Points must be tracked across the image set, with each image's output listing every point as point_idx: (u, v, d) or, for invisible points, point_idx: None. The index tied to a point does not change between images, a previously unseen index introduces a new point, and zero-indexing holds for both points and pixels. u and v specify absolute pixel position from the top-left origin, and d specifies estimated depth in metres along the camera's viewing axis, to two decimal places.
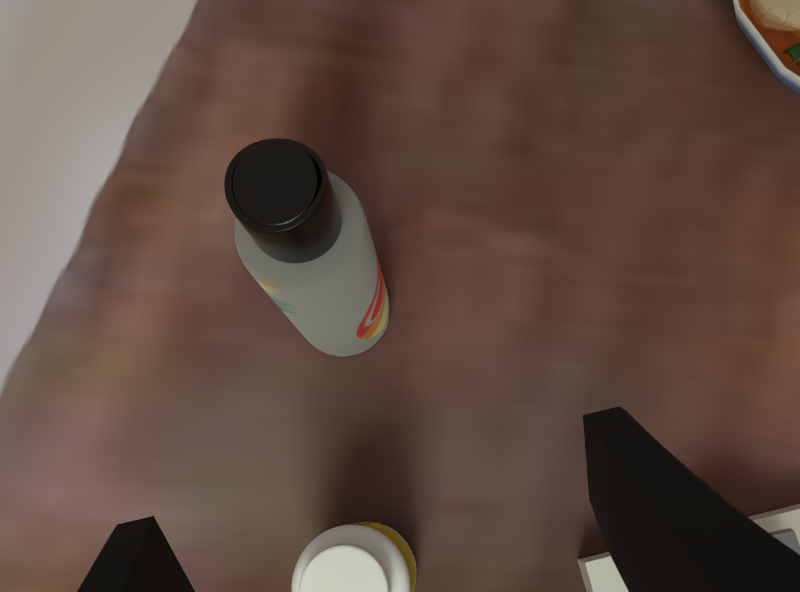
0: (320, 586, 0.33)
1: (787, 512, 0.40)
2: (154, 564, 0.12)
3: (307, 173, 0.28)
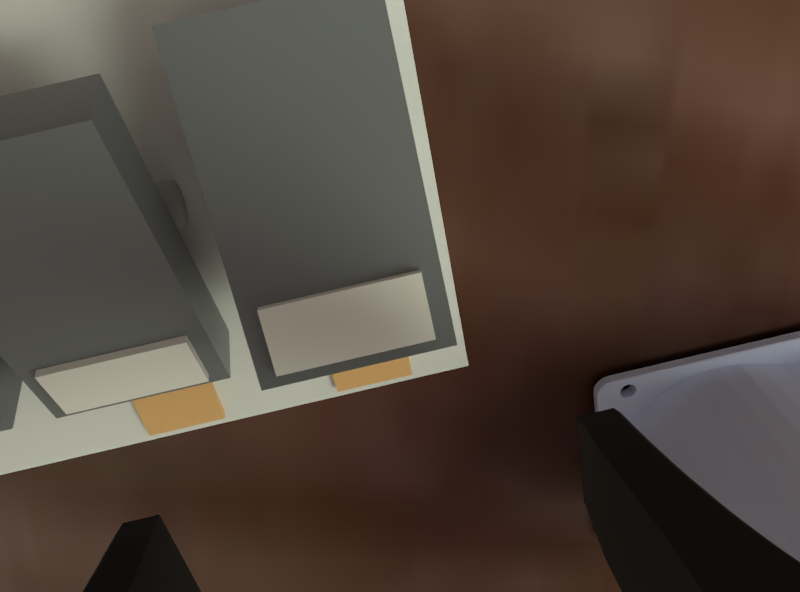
0: None
1: None
2: (160, 563, 0.12)
3: None
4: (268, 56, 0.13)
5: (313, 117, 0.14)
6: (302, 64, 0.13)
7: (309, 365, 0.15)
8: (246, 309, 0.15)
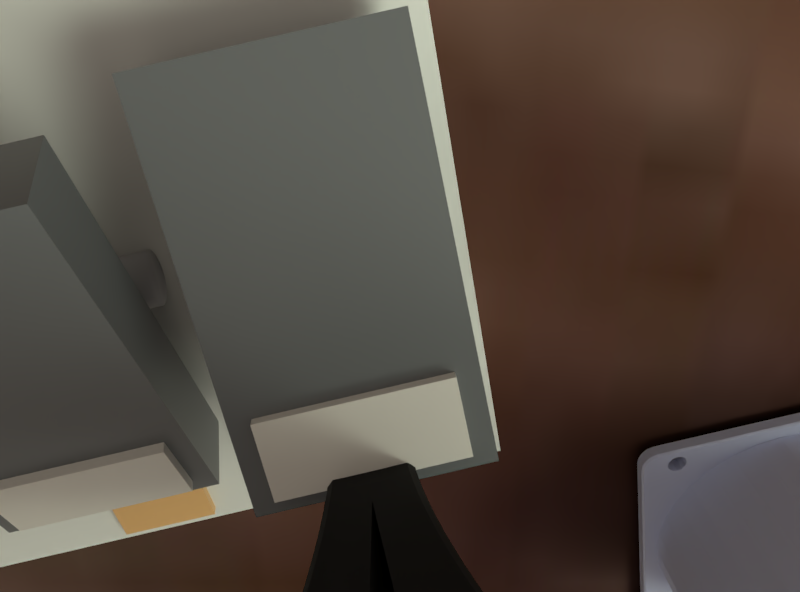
0: None
1: None
2: None
3: None
4: (264, 112, 0.10)
5: (321, 187, 0.11)
6: (307, 121, 0.10)
7: (315, 489, 0.12)
8: (237, 421, 0.12)
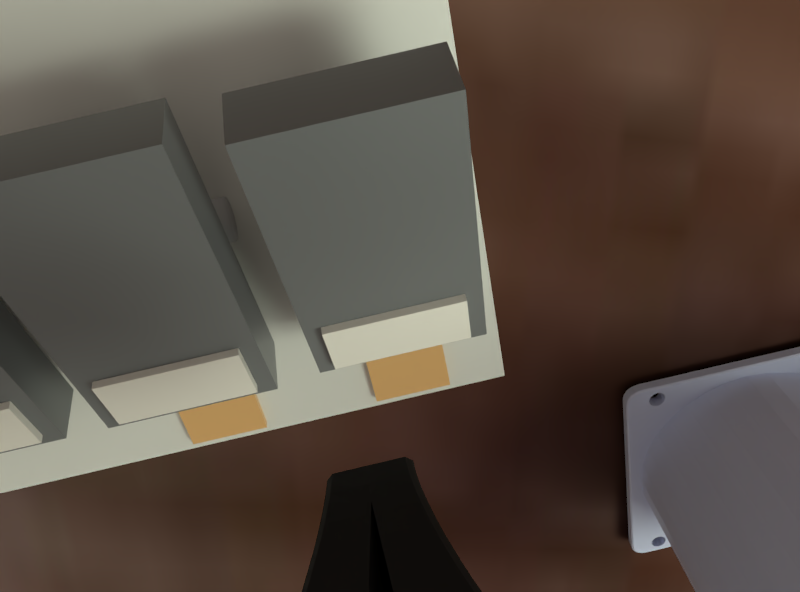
0: None
1: None
2: None
3: None
4: (344, 162, 0.13)
5: (383, 203, 0.14)
6: (378, 166, 0.13)
7: (364, 361, 0.17)
8: (310, 329, 0.16)
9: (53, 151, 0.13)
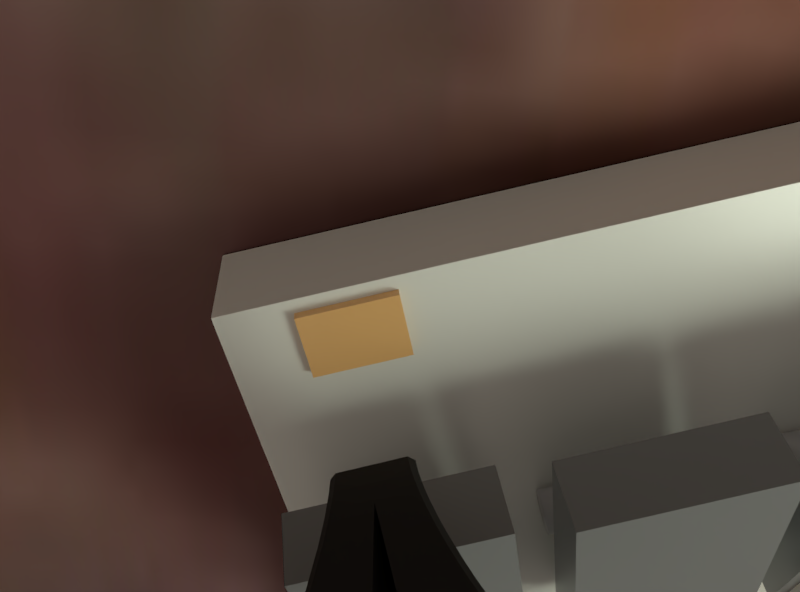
0: None
1: (246, 399, 0.15)
2: None
3: None
4: None
5: None
6: None
7: None
8: (797, 579, 0.17)
9: (686, 478, 0.13)
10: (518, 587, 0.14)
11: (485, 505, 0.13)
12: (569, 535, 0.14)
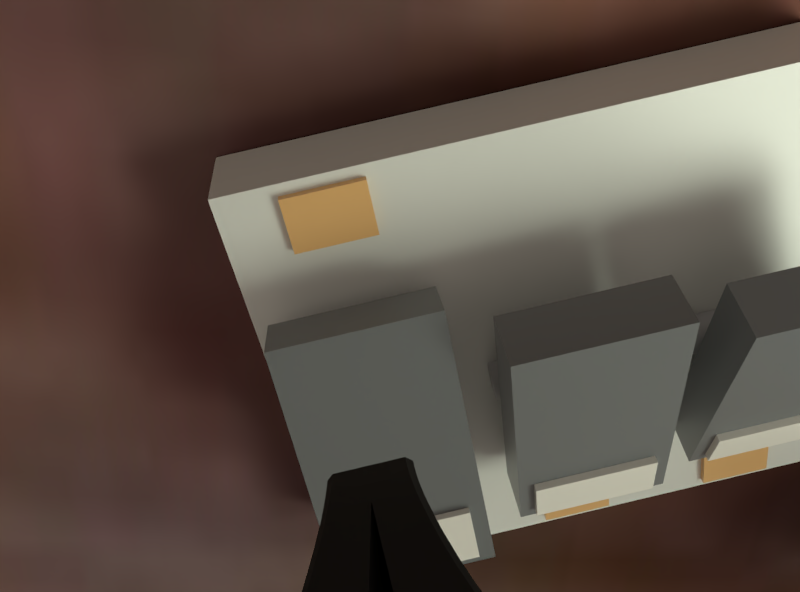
0: None
1: (237, 275, 0.18)
2: None
3: None
4: None
5: None
6: None
7: None
8: (708, 436, 0.20)
9: (602, 324, 0.16)
10: (458, 390, 0.17)
11: (424, 302, 0.17)
12: (507, 376, 0.16)
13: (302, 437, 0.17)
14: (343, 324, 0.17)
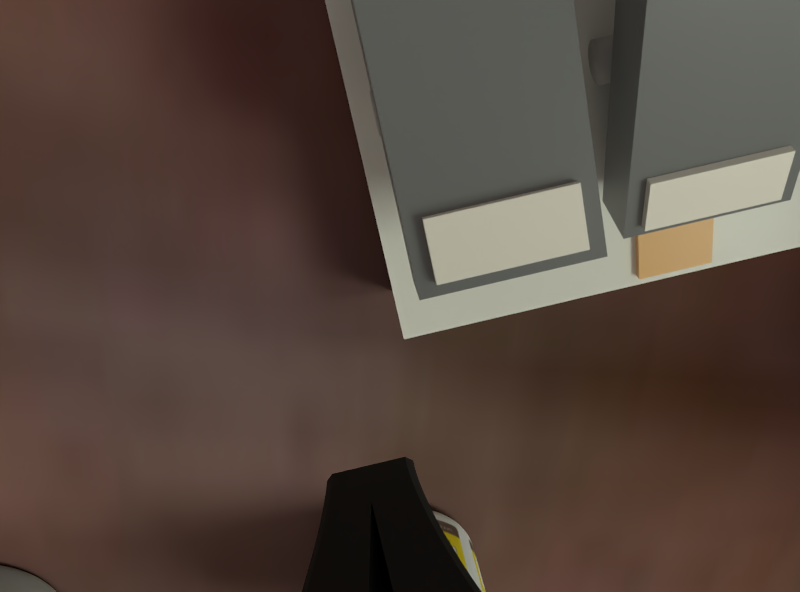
0: None
1: None
2: None
3: None
4: None
5: None
6: None
7: None
8: None
9: None
10: (570, 5, 0.14)
11: None
12: None
13: (381, 64, 0.14)
14: None
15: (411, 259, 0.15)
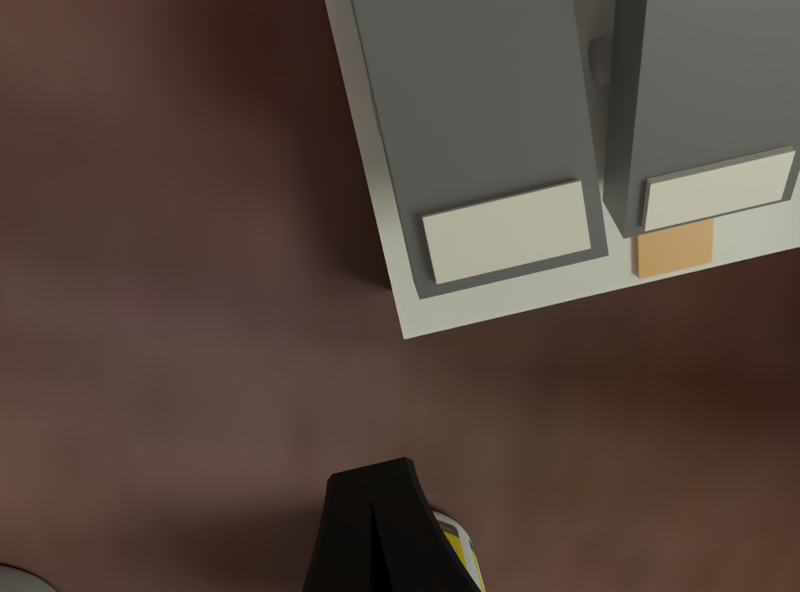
0: None
1: None
2: None
3: None
4: None
5: None
6: None
7: None
8: None
9: None
10: (569, 3, 0.14)
11: None
12: None
13: (380, 62, 0.14)
14: None
15: (411, 258, 0.15)
